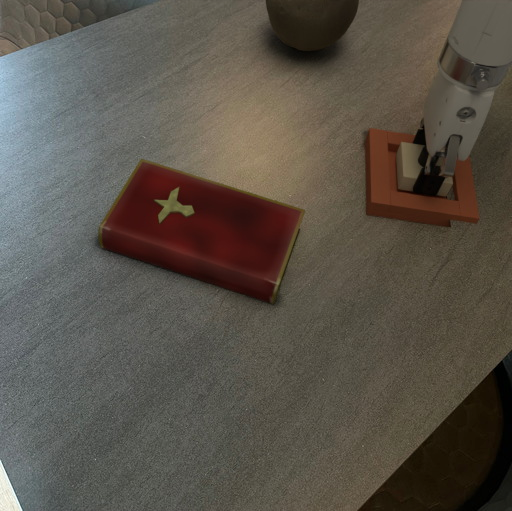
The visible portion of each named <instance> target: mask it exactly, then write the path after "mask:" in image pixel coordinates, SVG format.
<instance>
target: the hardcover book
mask: <svg viewBox="0 0 512 511" xmlns="http://www.w3.org/2000/svg"><path fill="white" fill-rule="evenodd" d="M305 214H306V209H304V208H300V207H297V206H294V205H291V204H287V203H284V202H282V201H279V200H275V199H272V198H268V197H266V196H262V195H259V194H256V193H253V192H250V191H246V190H243V189H240V188H237V187H233V186H231V185H227V184H224V183H220V182H217V181H214V180H212V179H208V178H205V177H202V176H200V175H199V176H198V175H195V174H193V173H189V172H186V171H182V170H179V169H176V168H174V167H170V166H166V165H164V164H160V163H158V162H157V163H156V162H155V161H151V160H148V159H144V158H140V160H139V161H138V163H137V164H136V166H135V168H134V169H133V170H132V172H131V174H130V176H129V177H128V179H127V180H126V182H125V184H124V185H123V187H122V189H121V190H120V191H119V194H118V195H117V197H116V198H115V200H114V201H113V203H112V205H111V207H110V208H109V209H108V211H107V212H106V214H105V216H104V217H103V219H102V221H101V222H100V224H99V226H98V230H97V233H98V243H99V244H98V245H99V247H100V248H101V249H104V250H108V251H110V252H113V253H116V254H120V255H123V256H125V257H129V258H131V259H134V260H138V261H141V262H144V263H147V264H150V265H153V266H156V267H158V268H162V269H165V270H167V271H168V270H169V271H171V272H173V273H177V274H179V275H183V276H187V277H188V278H192V279H195V280H199V281H201V282H205V283H208V284H211V285H214V286H216V287H220V288H224V289H226V290H229V291H232V292H235V293H239V294H241V295H244V296H247V297H250V298H254V299H257V300H259V301H263V302H265V303H269V304H271V305H275V303H276V300H277V296H278V294H279V291H280V288H281V286H282V282H283V280H284V276H285V275H286V270H287V268H288V265H289V262H290V259H291V256H292V254H293V251H294V248H295V246H296V242H297V239H298V237H299V234H300V230H301V224H302V222H303V220H304V216H305Z"/></svg>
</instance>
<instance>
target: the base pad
mask: <svg viewBox="0 0 512 511" xmlns="http://www.w3.org/2000/svg"><path fill="white" fill-rule="evenodd" d="M415 135H416V134H411V133H404V132H397V131H391V130H387V129H386V130H385V129H381V128H380V129H379V128H373V127H369V128H368V130H367V134H366V137H365V140H364V155H365V156H364V159H365V166H364V167H365V211H366V212H365V214H366V215H367V216H372V217H380V218H386V219H393V220H399V221H406V222H410V223H411V222H412V223H420V224H426V225H432V226H438V227H444V228H452V222H451V221H455V222H456V221H458V222H464V223H470V224H477V223H478V222H479V220H480V219H481V218H480V212H479V206H478V200H477V193H476V187H475V182H474V181H475V180H474V175H473V170H472V163H471V156H470V155H469V156H468V158H467V159H466V160H465V161H459V160H458V156H457V159H456V165H455V171H454V175H453V177H452V180H453V185H452V190H453V196H454V199H449V198H448V195H447V196H439V195H428V194H421V193H415V192H413V191H406V190H399V189H398V182H397V165H396V154H397V151H398V149H399V146H400V144H401V142H405V143H413V140H414V138H415ZM444 148H445V147H444Z"/></svg>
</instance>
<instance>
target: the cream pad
mask: <svg viewBox="0 0 512 511" xmlns="http://www.w3.org/2000/svg"><path fill="white" fill-rule="evenodd" d="M441 150H445V148H442V149H441ZM428 156H429V152H428V150H427V145H426V146H425V145H418V144H412V143H405V142H401V144H400V146H399V149H398V151H397V154H396V165H397V182H398V189H399V190H406V191H413V186H414V184H415V182H416V180H417V177H418V175H419V173H420V171H421V169H422V168H425V166H426V163H427V159H428ZM442 162H443V158H442V157H436V156H435V160H434V163H433V166H441V165H442ZM451 188H453V180H452V177H447V178H445V180H444V182H443V184H442V186H441V188H440V190H439V192H438V194H437V195H439V196H447V197H448V194H449V192H450V191H451Z"/></svg>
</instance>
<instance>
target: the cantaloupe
mask: <svg viewBox="0 0 512 511" xmlns="http://www.w3.org/2000/svg"><path fill="white" fill-rule="evenodd" d="M359 3H360V0H265V7H266V11H267V16H268V20H269V23H270V26H271V28H272V30H273V32H274V34H275V35H276V36H277V38H278V39H279V40H280V41H281V43H284V44H286V45H287V47H291V48H295V49H296V50H297V51H301V52H312V51H318V50H319V51H321V50H323V49H325V48H328V47H330V46H331V45H333V44H335V43H336V42H337V41H339V40H340V39H342V37H343V36H344V35H346V32H347V31H348V30H349V28H350V27H351V25H352V23H353V22H354V20H355V18H356V16H357V13H358V9H359Z"/></svg>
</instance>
